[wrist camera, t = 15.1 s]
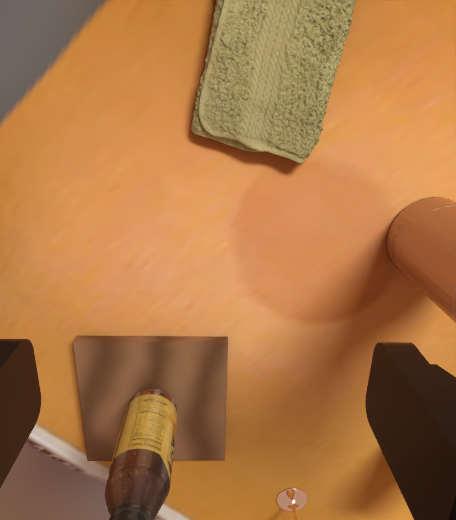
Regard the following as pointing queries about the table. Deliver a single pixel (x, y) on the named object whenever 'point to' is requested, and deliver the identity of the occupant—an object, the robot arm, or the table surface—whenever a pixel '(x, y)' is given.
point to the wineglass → (292, 500)
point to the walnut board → (154, 377)
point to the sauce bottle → (142, 457)
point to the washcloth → (271, 73)
